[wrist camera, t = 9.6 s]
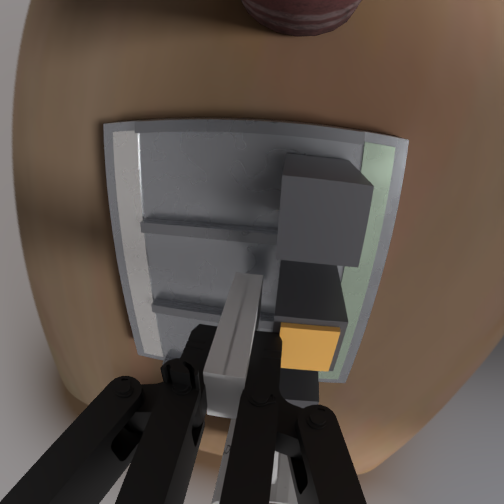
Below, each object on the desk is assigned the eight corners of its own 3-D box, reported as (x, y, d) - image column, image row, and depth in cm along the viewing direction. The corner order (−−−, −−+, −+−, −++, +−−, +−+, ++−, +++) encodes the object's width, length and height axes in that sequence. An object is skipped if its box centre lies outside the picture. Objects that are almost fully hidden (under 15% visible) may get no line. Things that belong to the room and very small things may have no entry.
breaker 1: (269, 334, 19) (261, 396, 14) (316, 338, 19) (318, 401, 14) (266, 365, 20) (257, 425, 16) (309, 369, 20) (308, 429, 16)
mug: (307, 444, 28) (302, 525, 19) (228, 433, 28) (209, 514, 20) (347, 376, 22) (356, 489, 13) (241, 361, 23) (214, 476, 14)
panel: (116, 121, 16) (95, 125, 14) (399, 136, 14) (414, 141, 12) (145, 342, 23) (134, 361, 21) (343, 368, 22) (345, 391, 20)
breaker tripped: (281, 257, 16) (273, 320, 12) (336, 263, 16) (349, 326, 11) (276, 302, 18) (267, 370, 13) (327, 307, 17) (333, 375, 13)
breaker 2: (286, 153, 14) (282, 175, 9) (348, 160, 14) (374, 186, 9) (281, 212, 15) (275, 259, 11) (340, 218, 15) (357, 267, 11)
